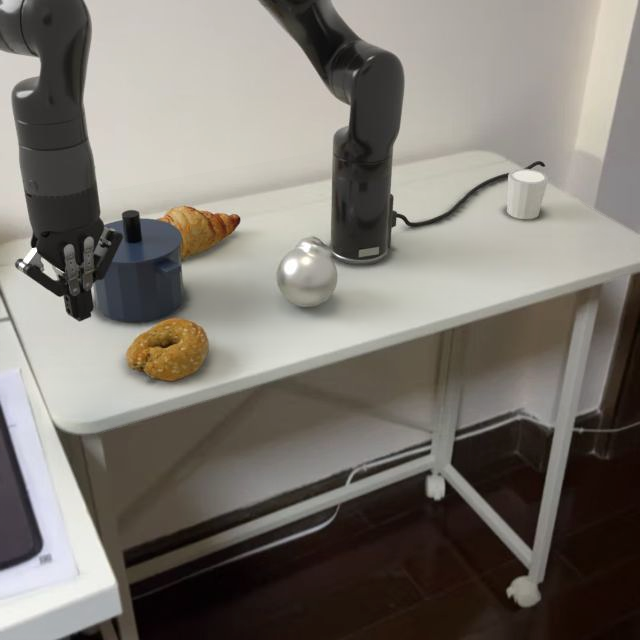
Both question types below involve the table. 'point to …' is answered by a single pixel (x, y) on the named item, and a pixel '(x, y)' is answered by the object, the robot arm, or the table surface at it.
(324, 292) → the silver round bulb
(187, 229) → the croissant
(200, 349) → the bagel
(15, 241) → the table surface
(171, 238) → the pot lid
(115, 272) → the pot
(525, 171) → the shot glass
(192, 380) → the table surface
